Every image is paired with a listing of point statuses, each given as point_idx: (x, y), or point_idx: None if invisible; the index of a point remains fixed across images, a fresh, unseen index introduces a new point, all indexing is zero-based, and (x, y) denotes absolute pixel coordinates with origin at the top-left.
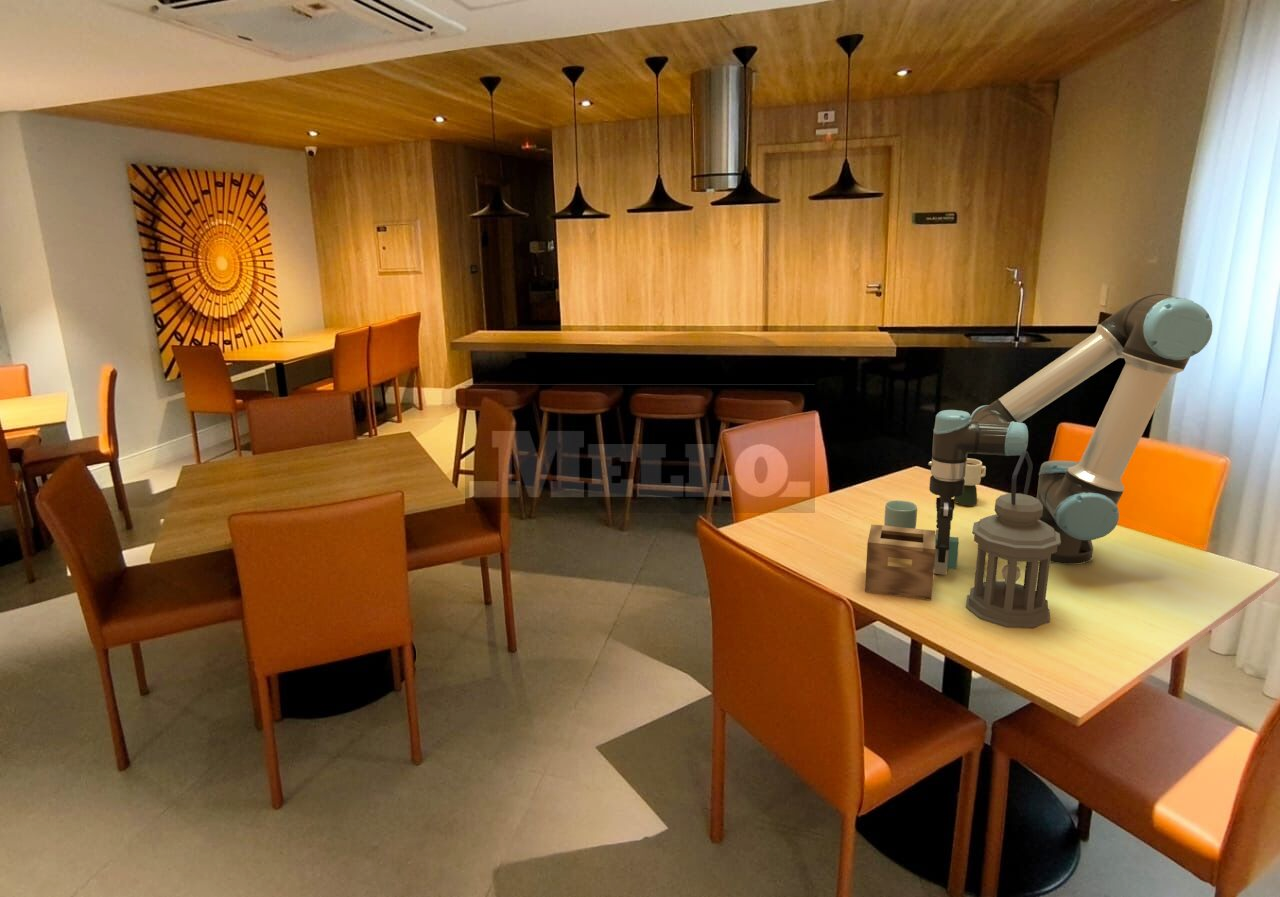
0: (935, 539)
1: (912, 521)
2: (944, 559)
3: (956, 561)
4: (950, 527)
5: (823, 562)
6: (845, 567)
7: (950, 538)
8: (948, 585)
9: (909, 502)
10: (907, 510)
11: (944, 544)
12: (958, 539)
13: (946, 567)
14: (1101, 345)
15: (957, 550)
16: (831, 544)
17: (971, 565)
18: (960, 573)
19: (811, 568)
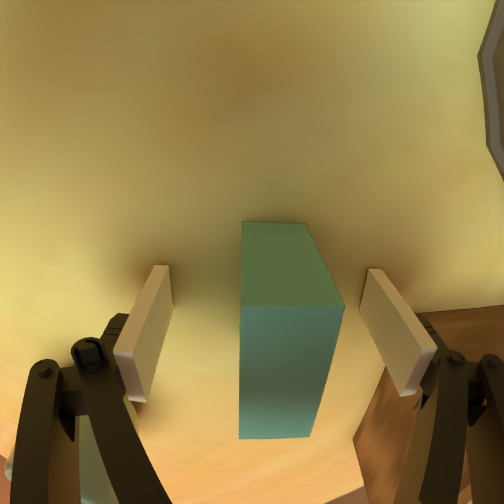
0: (312, 412)
1: (94, 454)
2: (430, 327)
3: (311, 241)
4: (88, 349)
5: (309, 487)
6: (332, 466)
7: (278, 352)
8: (451, 260)
9: (8, 474)
10: None
11: (475, 389)
12: (287, 306)
13: (393, 288)
14: None
15: (327, 273)
16: (203, 487)
17: (237, 148)
18: (347, 208)
19: (340, 489)
